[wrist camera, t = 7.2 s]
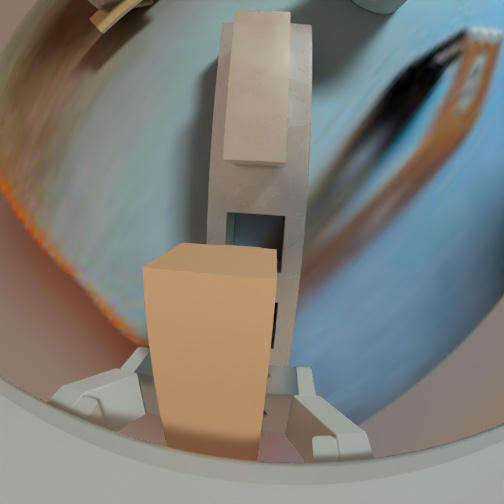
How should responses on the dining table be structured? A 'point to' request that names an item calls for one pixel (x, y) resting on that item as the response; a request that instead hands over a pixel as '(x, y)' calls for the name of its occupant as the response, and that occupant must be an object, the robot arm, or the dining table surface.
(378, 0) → the cup
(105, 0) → the architectural model
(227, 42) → the rail
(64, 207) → the dining table surface
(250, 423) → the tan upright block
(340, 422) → the robot arm
